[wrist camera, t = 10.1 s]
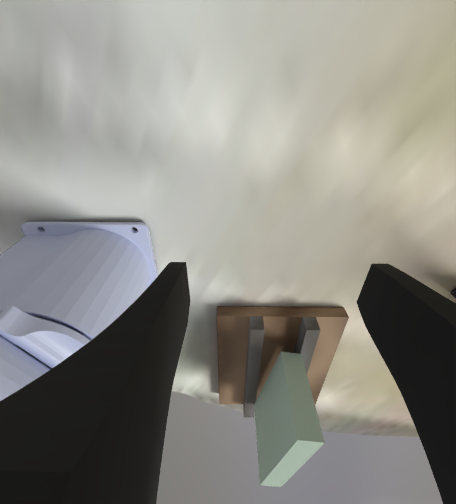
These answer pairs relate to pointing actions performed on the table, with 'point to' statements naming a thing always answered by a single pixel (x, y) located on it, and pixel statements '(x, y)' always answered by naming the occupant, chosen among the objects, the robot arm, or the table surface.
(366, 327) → the robot arm
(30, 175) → the table surface
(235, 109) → the table surface
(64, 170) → the table surface
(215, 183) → the table surface
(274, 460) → the grey-green rectangular block
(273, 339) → the track base
